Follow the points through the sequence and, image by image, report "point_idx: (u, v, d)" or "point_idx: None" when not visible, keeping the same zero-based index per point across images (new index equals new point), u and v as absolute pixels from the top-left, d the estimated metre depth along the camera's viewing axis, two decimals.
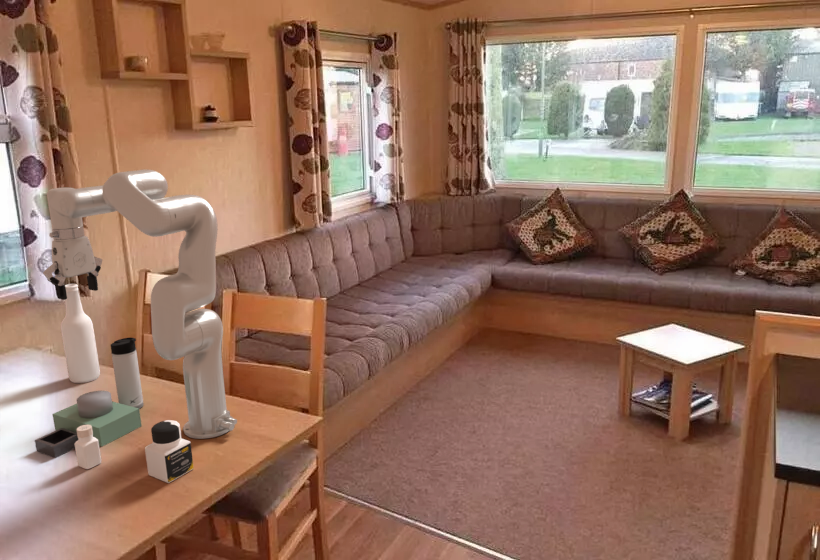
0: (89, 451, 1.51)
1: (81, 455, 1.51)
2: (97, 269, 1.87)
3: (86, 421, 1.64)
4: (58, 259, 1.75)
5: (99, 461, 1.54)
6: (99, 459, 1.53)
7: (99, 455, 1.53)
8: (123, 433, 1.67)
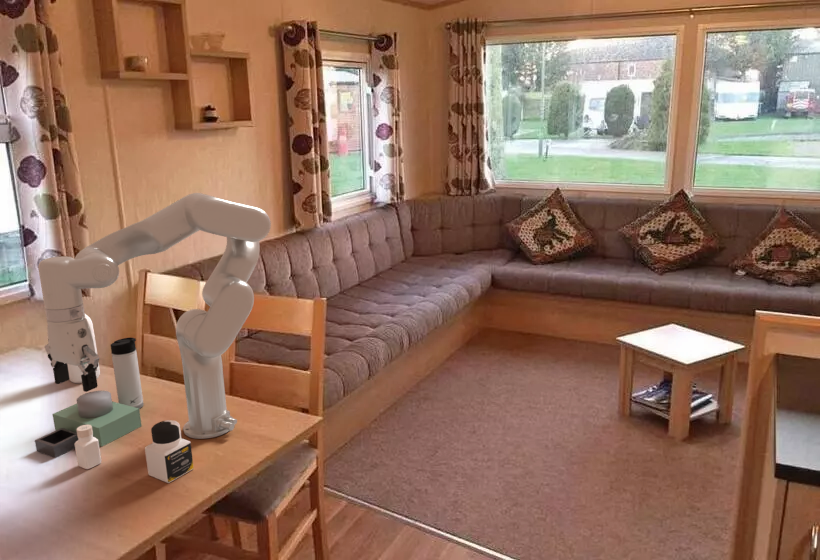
0: (89, 451, 1.51)
1: (81, 455, 1.51)
2: None
3: (86, 421, 1.64)
4: (89, 340, 1.45)
5: (99, 461, 1.54)
6: (99, 459, 1.53)
7: (99, 455, 1.53)
8: (123, 433, 1.67)
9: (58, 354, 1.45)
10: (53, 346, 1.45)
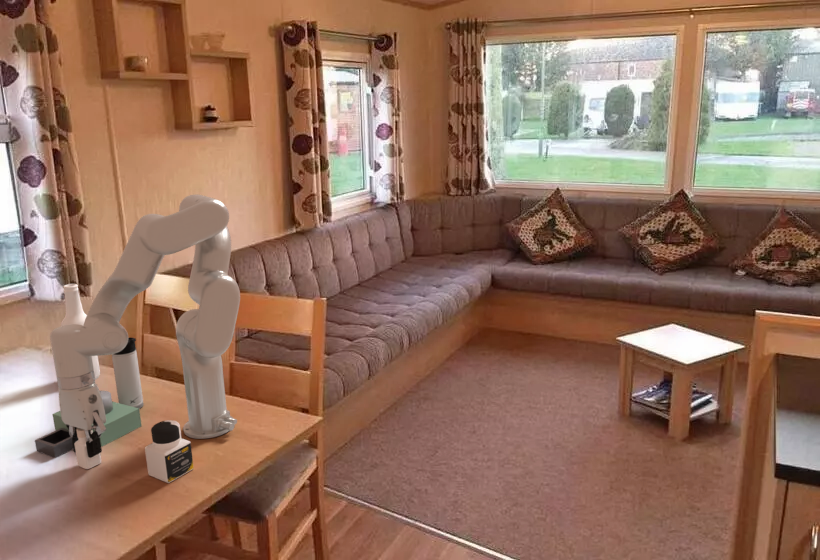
0: None
1: (80, 455, 1.51)
2: None
3: None
4: (99, 405, 1.49)
5: (99, 461, 1.53)
6: (99, 459, 1.53)
7: (99, 455, 1.53)
8: (123, 433, 1.67)
9: (69, 419, 1.49)
10: (64, 411, 1.49)
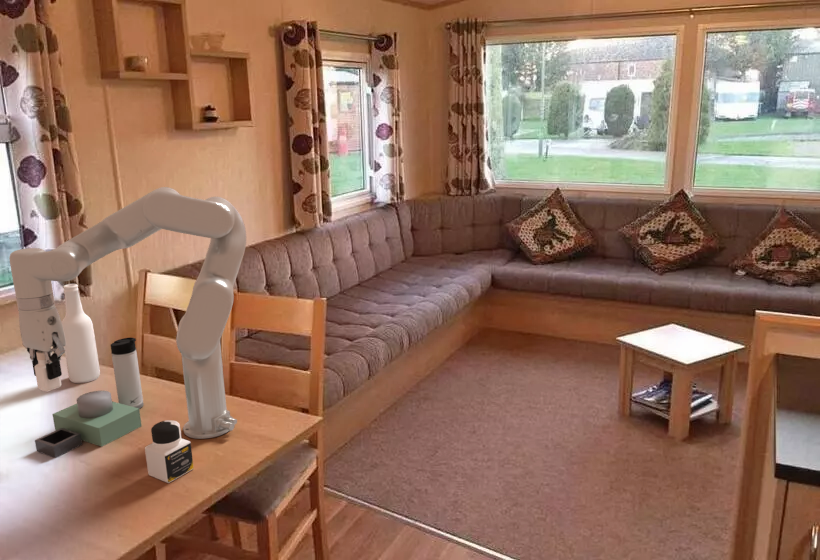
0: None
1: (40, 378, 1.55)
2: None
3: (86, 421, 1.64)
4: (58, 328, 1.52)
5: (59, 385, 1.57)
6: (59, 383, 1.57)
7: (59, 378, 1.57)
8: (123, 433, 1.67)
9: (29, 341, 1.53)
10: (24, 333, 1.53)
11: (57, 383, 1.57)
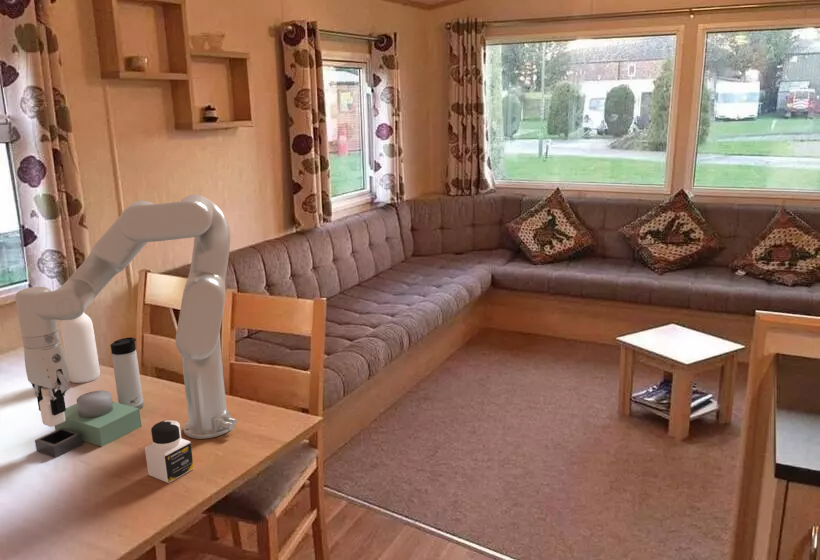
0: None
1: (45, 413, 1.57)
2: None
3: (86, 421, 1.64)
4: (63, 365, 1.55)
5: (63, 419, 1.60)
6: (63, 418, 1.60)
7: (63, 413, 1.60)
8: (123, 433, 1.67)
9: (34, 377, 1.56)
10: (29, 370, 1.56)
11: (61, 418, 1.59)
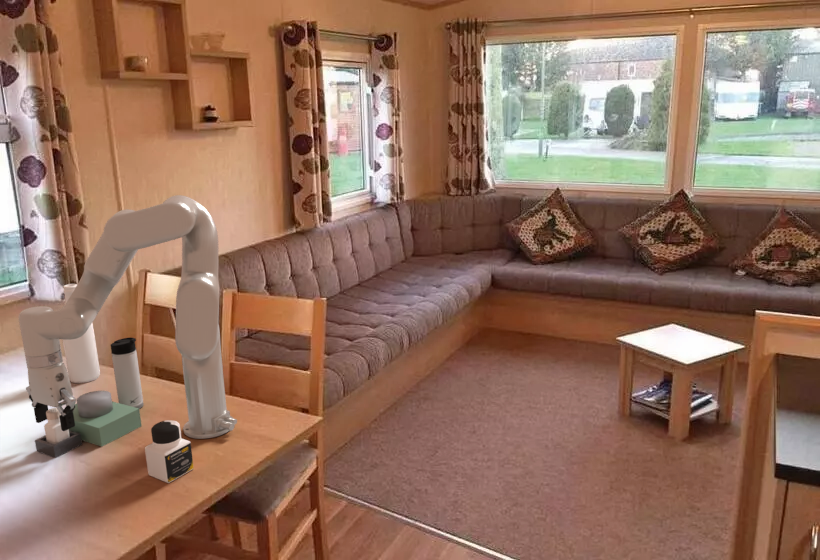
0: (59, 432, 1.59)
1: (50, 437, 1.59)
2: None
3: (86, 421, 1.64)
4: (66, 383, 1.56)
5: None
6: None
7: (68, 436, 1.62)
8: (123, 433, 1.67)
9: (38, 396, 1.57)
10: (33, 389, 1.57)
11: None
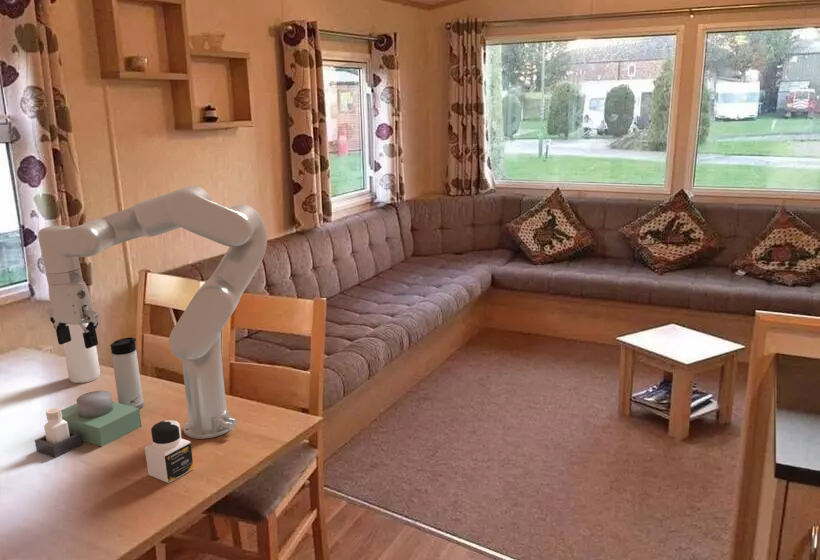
0: (59, 432, 1.59)
1: (50, 437, 1.59)
2: None
3: (86, 421, 1.64)
4: (88, 301, 1.58)
5: None
6: None
7: (68, 436, 1.62)
8: (123, 433, 1.67)
9: (60, 315, 1.59)
10: (55, 308, 1.59)
11: None
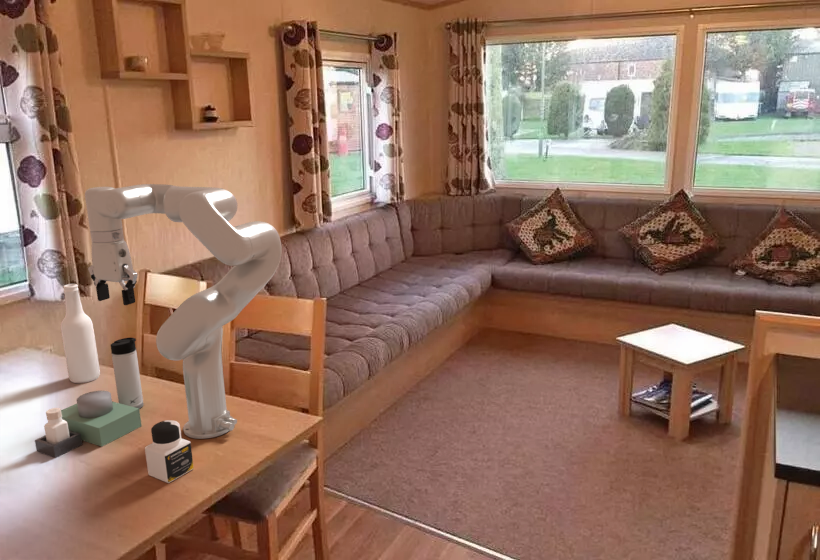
0: (59, 432, 1.59)
1: (50, 437, 1.59)
2: None
3: (86, 421, 1.64)
4: (128, 260, 1.66)
5: None
6: None
7: (68, 436, 1.62)
8: (123, 433, 1.67)
9: (101, 273, 1.66)
10: (96, 265, 1.67)
11: None
